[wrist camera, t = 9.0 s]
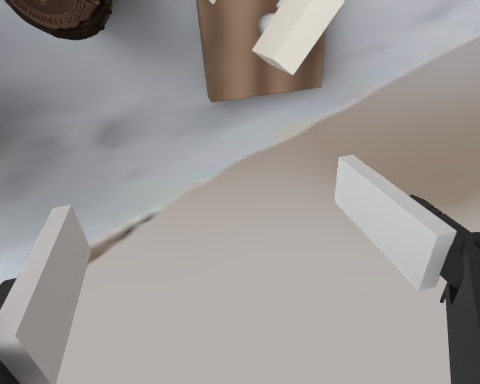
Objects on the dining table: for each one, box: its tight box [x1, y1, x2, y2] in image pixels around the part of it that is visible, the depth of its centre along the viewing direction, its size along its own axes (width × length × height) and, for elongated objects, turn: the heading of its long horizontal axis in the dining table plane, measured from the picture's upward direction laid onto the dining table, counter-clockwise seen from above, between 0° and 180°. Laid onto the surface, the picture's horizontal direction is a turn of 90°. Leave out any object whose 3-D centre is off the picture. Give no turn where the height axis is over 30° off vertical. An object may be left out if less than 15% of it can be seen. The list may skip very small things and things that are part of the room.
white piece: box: [252, 0, 345, 75], centre depth 30 cm, size 2×12×12 cm, turn 144°
